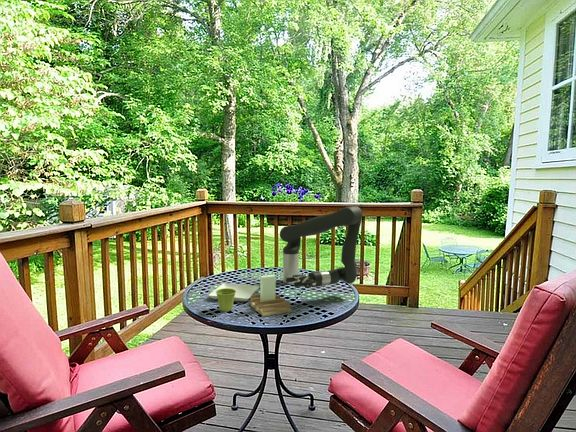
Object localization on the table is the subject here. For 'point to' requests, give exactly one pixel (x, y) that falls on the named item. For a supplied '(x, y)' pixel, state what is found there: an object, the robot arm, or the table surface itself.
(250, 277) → the table surface
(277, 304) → the drying rack
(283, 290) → the table surface
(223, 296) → the plant pot
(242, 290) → the salad plate
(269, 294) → the pale green block
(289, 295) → the table surface
